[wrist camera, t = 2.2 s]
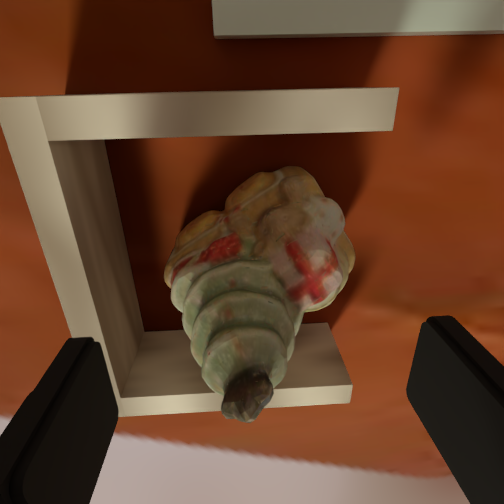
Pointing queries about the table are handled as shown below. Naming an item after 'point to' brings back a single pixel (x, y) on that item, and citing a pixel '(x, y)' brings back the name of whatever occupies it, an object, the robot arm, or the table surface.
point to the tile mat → (354, 18)
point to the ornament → (257, 281)
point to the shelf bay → (112, 236)
